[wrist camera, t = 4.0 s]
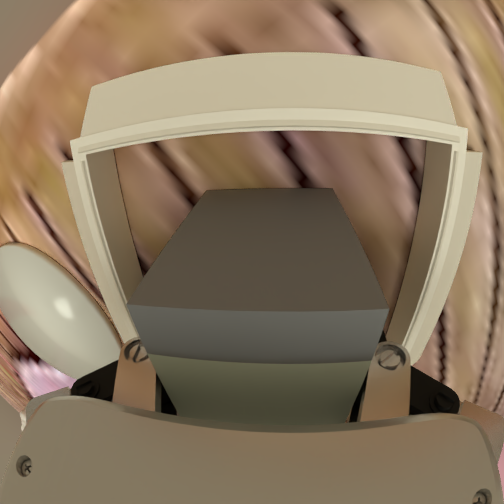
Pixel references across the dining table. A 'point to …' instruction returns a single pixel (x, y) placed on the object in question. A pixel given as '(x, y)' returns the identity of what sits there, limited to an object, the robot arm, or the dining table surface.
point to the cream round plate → (54, 312)
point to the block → (262, 309)
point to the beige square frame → (274, 119)
